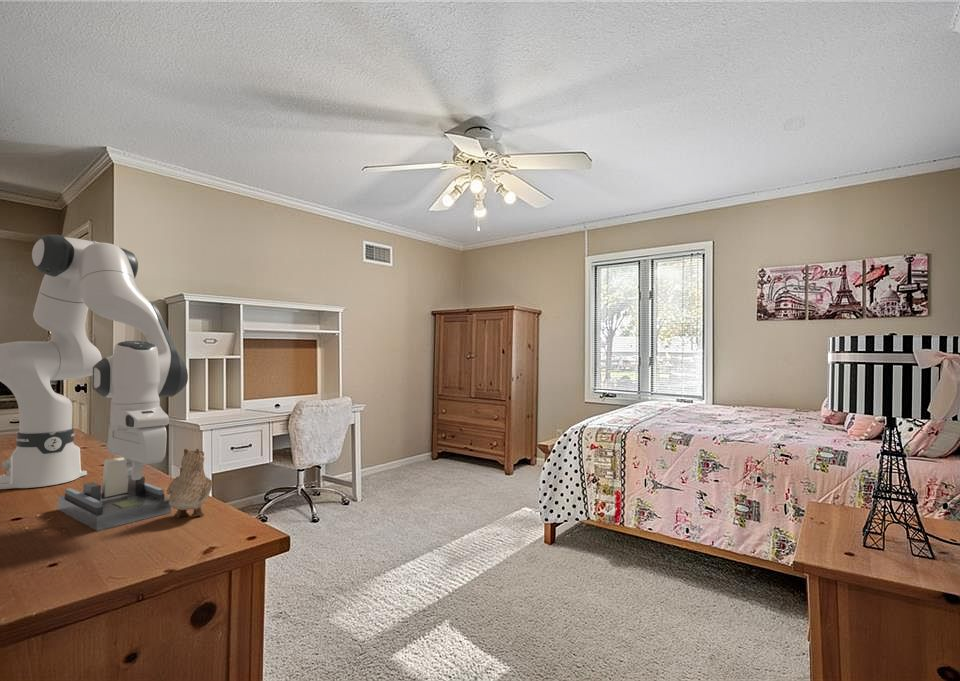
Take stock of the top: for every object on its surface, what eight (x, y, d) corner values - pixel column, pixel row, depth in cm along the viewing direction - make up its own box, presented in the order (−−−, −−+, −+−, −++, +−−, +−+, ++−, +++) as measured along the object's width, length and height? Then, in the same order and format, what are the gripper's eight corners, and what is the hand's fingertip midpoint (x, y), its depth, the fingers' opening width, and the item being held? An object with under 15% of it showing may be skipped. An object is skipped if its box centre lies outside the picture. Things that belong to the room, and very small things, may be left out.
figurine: (221, 510, 114) (222, 445, 114) (197, 525, 104) (198, 454, 104) (182, 509, 114) (184, 444, 114) (154, 524, 104) (156, 453, 104)
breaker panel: (58, 509, 113) (58, 479, 113) (128, 495, 125) (128, 467, 125) (96, 531, 100) (97, 496, 100) (171, 512, 112) (171, 481, 112)
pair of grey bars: (64, 497, 112) (64, 488, 113) (129, 484, 123) (129, 476, 123) (97, 513, 102) (97, 503, 102) (164, 498, 112) (164, 489, 112)
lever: (100, 497, 111) (103, 460, 110) (124, 492, 115) (127, 456, 114) (103, 500, 110) (106, 462, 110) (128, 495, 114) (131, 458, 113)
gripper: (99, 413, 110) (98, 474, 110) (139, 421, 99) (138, 489, 99) (131, 410, 116) (130, 469, 115) (173, 417, 104) (171, 482, 104)
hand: (134, 478), depth 107 cm, fingers closed
